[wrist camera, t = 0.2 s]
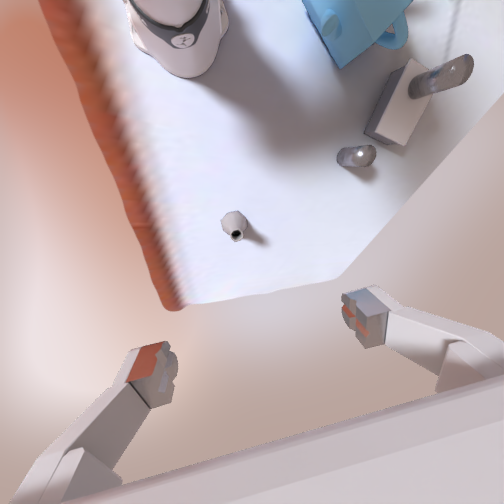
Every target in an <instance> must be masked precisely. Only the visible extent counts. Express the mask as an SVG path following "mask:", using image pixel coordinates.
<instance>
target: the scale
mask: <svg viewBox="0 0 504 504" xmlns="http://www.w3.org/2000/svg"><path fill="white" fill-rule="evenodd" d="M428 70H429V69H428V68H426V67H424V66H423V65H421V64H420V63H418V62H417V61H415V60H414V59H412V58H411V59H409V61H408V63H407V65H406V66H404V67H402V68H400V69H398V70H396V71H394V72H392V73H391V75H390V77H389V79H388V81H387V84H386V86H385V88H384V90H383V92H382V94H381V97H380V99H379V101H378V103H377V105H376V107H375V110H374V112H373V114H372V116H371V118H370V120H369V123H368V125H367V127H366V129H365V131H364V134H366V135H368V136H370V137H372V138H374V139H376V140H378V141H381V142H383V143H385V144H387V145H390V144H400V145H402V146H405V145H406V143H407V142H408V140H409V138H410V136H411V134H412V132H413V130H414V129H415V127H416V125H417V123H418V121H419V119H420V117H421V116H422V114H423V112H424V110H425V108H426V106H427V104H428V103H429V101H430V99H431V97H432V95H433V94H431V95H428V96H425V97H422V98H419V99H416V100H413V99H411V98H410V97H409V95H408V87H409V84H410V82H411V80H412V79H413V78H414V77H415V76H417V75H419V74H421V73H424V72H426V71H428Z"/></svg>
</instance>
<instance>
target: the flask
mask: <svg viewBox="0 0 504 504" xmlns="http://www.w3.org/2000/svg"><path fill="white" fill-rule="evenodd" d="M221 224H222V228H223V231H225V232H226V233H227V234H228V235H230V237H231V239H232V240H233V241H235V242H237V241H240V240H241V239H242V238H243V237H244V236H243V231H244V230H245V229H246V228H247V223H246V218H245V217H244V216H243V215H242V214H241V213H240V212H239V211H234V212H229V213H227V214H226V215H225V216H224V217H223V219H222V220H221Z"/></svg>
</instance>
